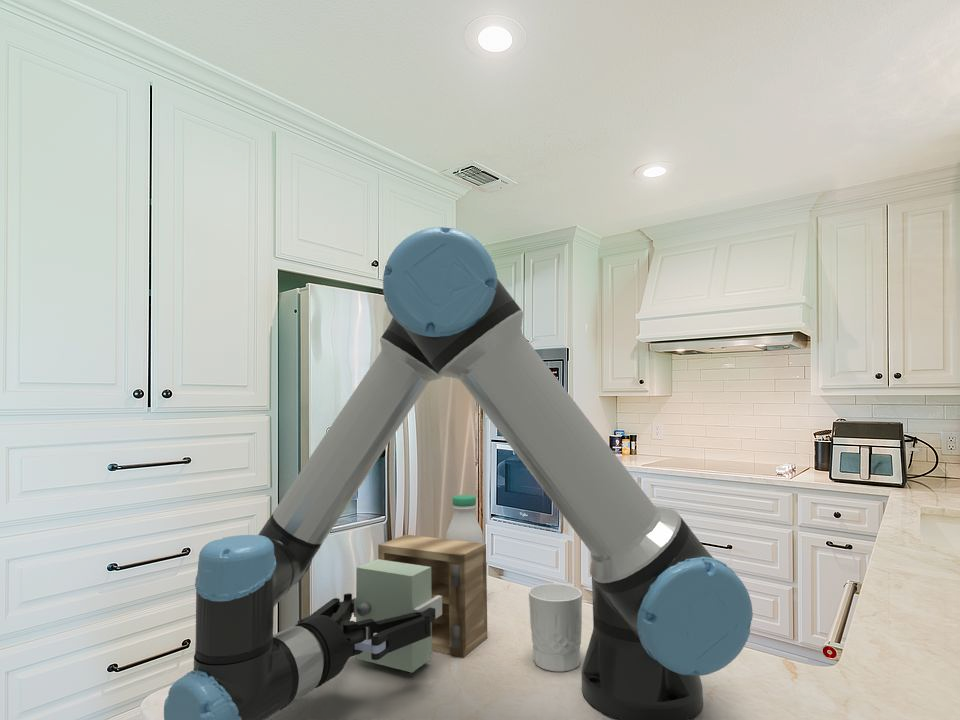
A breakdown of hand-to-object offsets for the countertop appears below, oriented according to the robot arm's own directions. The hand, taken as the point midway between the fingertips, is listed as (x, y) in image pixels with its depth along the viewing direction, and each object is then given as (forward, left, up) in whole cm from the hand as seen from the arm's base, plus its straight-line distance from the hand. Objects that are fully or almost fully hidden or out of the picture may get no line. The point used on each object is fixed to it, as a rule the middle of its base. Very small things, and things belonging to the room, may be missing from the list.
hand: (410, 599), depth 86 cm
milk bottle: (+4, -24, -8) cm, 26 cm away
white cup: (-21, -7, -8) cm, 24 cm away
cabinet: (0, -6, -8) cm, 10 cm away
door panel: (0, +4, -7) cm, 8 cm away
